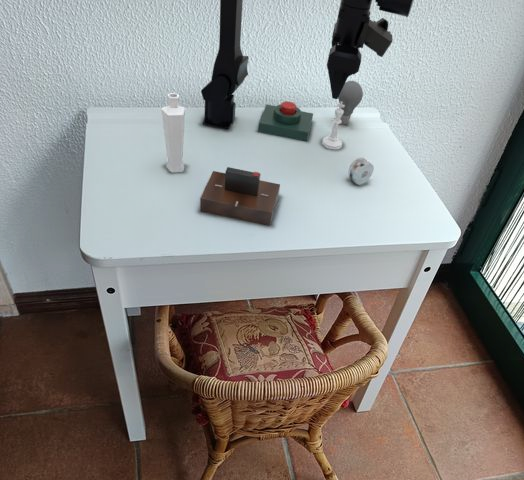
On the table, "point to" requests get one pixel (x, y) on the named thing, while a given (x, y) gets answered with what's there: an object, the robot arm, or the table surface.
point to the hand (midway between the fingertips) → (336, 89)
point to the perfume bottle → (174, 133)
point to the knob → (242, 181)
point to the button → (288, 108)
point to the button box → (285, 123)
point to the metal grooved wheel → (360, 171)
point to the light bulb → (350, 99)
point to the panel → (239, 201)
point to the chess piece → (334, 131)
